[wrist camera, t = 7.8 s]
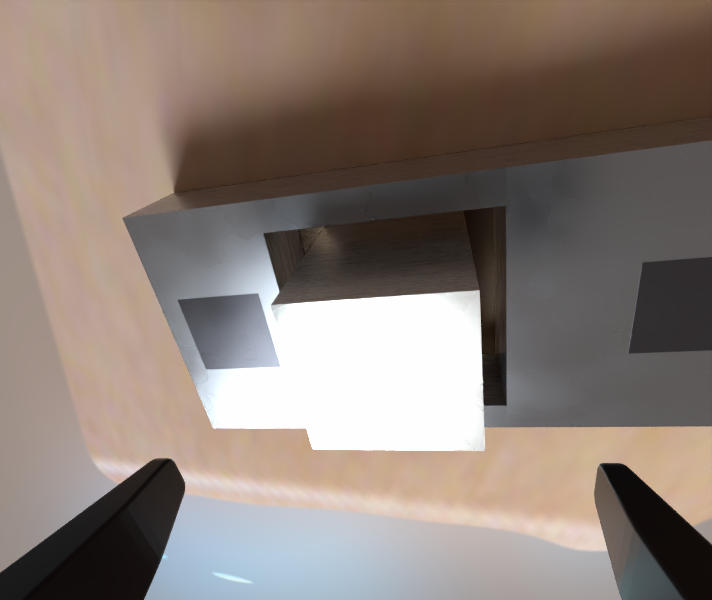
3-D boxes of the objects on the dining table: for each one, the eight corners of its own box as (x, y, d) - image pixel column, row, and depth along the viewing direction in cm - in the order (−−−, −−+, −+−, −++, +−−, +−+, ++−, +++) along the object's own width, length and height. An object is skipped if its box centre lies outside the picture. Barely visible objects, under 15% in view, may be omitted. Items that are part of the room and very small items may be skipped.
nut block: (463, 210, 15) (479, 290, 9) (469, 332, 17) (484, 450, 12) (324, 226, 16) (270, 304, 10) (347, 338, 18) (312, 448, 13)
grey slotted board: (816, 101, 12) (927, 112, 9) (735, 366, 16) (796, 426, 13) (173, 193, 16) (122, 218, 13) (242, 381, 20) (213, 428, 17)
